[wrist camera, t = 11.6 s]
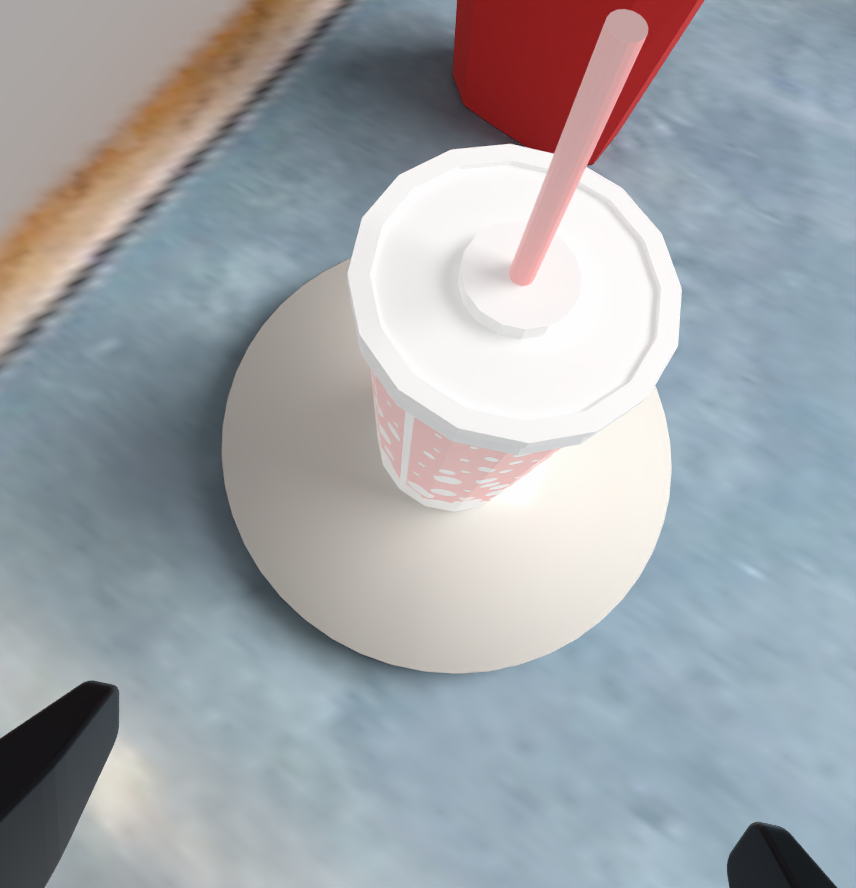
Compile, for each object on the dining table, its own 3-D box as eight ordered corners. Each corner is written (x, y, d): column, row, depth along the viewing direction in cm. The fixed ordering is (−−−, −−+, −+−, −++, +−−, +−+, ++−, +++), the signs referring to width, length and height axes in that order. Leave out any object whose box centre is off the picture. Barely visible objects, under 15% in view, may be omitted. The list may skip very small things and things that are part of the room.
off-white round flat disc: (617, 729, 19) (634, 733, 18) (159, 598, 19) (146, 595, 18) (681, 324, 24) (697, 307, 23) (310, 216, 24) (307, 194, 22)
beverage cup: (588, 442, 21) (996, 56, 7) (455, 580, 19) (678, 402, 6) (449, 314, 22) (591, -231, 8) (310, 436, 20) (211, -11, 7)
